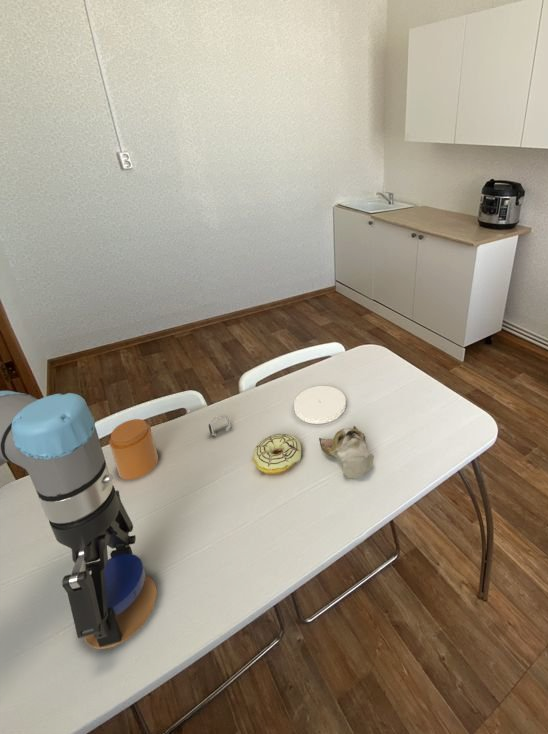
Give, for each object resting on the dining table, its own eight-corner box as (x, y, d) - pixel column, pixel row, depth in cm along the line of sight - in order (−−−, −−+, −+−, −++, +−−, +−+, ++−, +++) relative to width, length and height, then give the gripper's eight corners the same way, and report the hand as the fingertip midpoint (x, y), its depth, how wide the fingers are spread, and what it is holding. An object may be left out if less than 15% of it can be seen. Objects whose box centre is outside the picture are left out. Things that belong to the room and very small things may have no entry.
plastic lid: (289, 400, 108) (288, 393, 108) (336, 388, 113) (335, 381, 113) (302, 433, 96) (301, 425, 95) (353, 417, 101) (353, 410, 100)
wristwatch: (209, 434, 96) (206, 418, 95) (229, 426, 99) (226, 410, 97) (213, 441, 94) (210, 425, 92) (233, 432, 97) (230, 416, 95)
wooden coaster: (67, 638, 57) (66, 635, 57) (123, 570, 66) (122, 567, 66) (121, 661, 55) (119, 657, 54) (171, 586, 64) (170, 583, 63)
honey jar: (110, 477, 85) (98, 439, 81) (138, 450, 92) (129, 414, 88) (139, 485, 83) (128, 446, 79) (166, 457, 90) (157, 420, 86)
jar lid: (157, 569, 61) (155, 561, 60) (113, 630, 54) (110, 621, 53) (116, 555, 63) (113, 547, 63) (68, 611, 56) (64, 603, 55)
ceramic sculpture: (339, 460, 77) (314, 418, 90) (341, 495, 79) (317, 449, 92) (385, 443, 81) (355, 405, 94) (386, 476, 83) (357, 435, 96)
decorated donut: (310, 463, 87) (309, 450, 86) (265, 487, 82) (264, 473, 80) (289, 436, 95) (288, 424, 94) (248, 456, 89) (246, 443, 88)
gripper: (81, 572, 43) (126, 685, 51) (134, 440, 63) (161, 537, 70) (3, 591, 42) (62, 705, 50) (82, 449, 61) (116, 548, 69)
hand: (120, 607), depth 60 cm, fingers closed on jar lid, 8 cm apart
